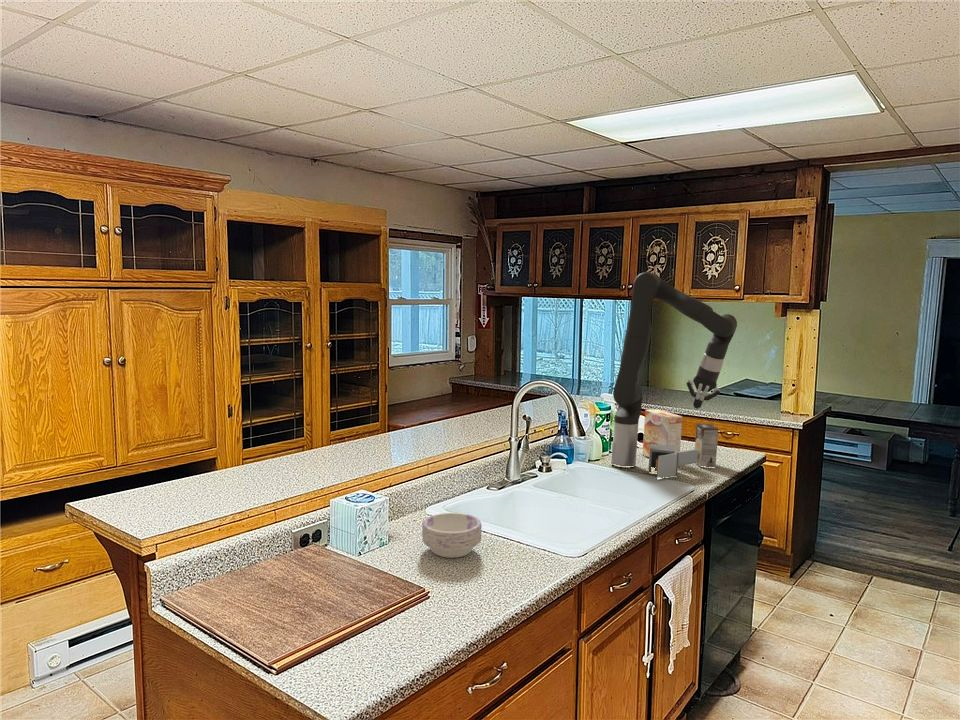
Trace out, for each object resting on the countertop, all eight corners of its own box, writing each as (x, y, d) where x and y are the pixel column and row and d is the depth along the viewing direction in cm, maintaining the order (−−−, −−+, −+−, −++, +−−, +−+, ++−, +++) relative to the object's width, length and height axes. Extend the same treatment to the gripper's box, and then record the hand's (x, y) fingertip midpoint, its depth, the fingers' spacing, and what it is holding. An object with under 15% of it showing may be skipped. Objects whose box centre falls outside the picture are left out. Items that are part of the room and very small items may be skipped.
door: (658, 480, 241) (660, 455, 240) (656, 480, 242) (658, 455, 241) (696, 473, 253) (698, 449, 252) (694, 472, 253) (696, 448, 252)
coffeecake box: (641, 456, 277) (644, 409, 275) (655, 454, 280) (658, 408, 278) (665, 465, 264) (669, 416, 261) (679, 463, 267) (683, 415, 264)
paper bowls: (414, 543, 177) (415, 514, 176) (469, 537, 182) (469, 509, 181) (431, 566, 163) (432, 535, 162) (489, 559, 168) (490, 529, 167)
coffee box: (693, 461, 270) (695, 423, 268) (708, 462, 270) (711, 423, 268) (699, 468, 261) (703, 428, 259) (716, 468, 261) (719, 428, 259)
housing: (648, 474, 250) (649, 449, 249) (648, 467, 259) (650, 443, 258) (673, 476, 248) (675, 451, 247) (672, 470, 257) (674, 446, 256)
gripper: (728, 368, 247) (713, 408, 254) (692, 358, 250) (679, 398, 257) (728, 375, 240) (713, 417, 247) (692, 364, 243) (677, 406, 250)
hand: (696, 407), depth 252 cm, fingers closed
